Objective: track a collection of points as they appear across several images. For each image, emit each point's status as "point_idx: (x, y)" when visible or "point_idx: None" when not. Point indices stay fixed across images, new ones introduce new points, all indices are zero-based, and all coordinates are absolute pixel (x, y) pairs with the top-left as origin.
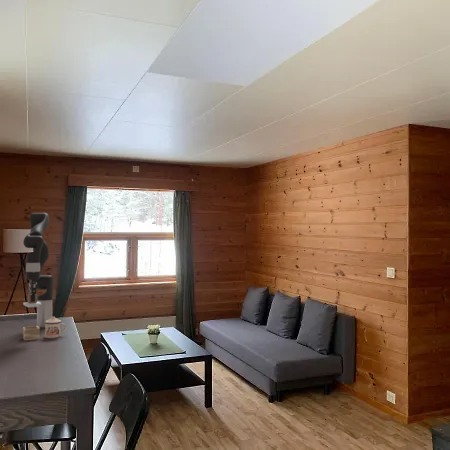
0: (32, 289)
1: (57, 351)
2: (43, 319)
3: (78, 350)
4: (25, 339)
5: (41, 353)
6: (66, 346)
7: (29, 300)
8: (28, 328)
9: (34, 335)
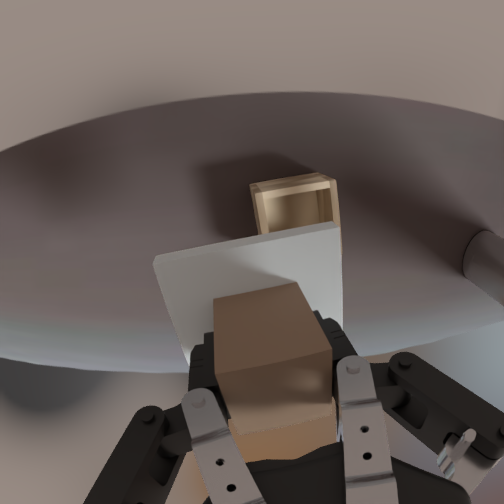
0: (108, 470)
1: (38, 312)
2: (484, 265)
3: (53, 362)
4: (250, 188)
5: (17, 267)
6: (97, 341)
7: (215, 322)
8: (329, 208)
9: (259, 233)
